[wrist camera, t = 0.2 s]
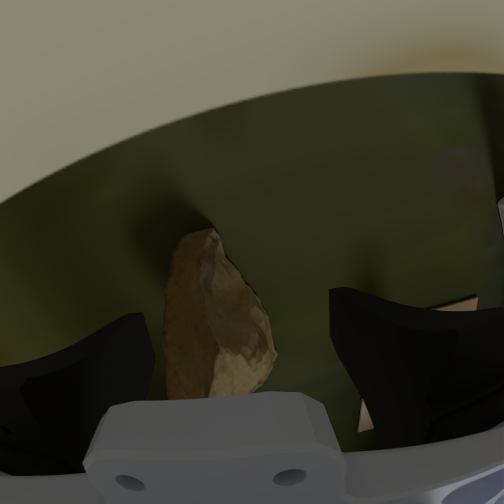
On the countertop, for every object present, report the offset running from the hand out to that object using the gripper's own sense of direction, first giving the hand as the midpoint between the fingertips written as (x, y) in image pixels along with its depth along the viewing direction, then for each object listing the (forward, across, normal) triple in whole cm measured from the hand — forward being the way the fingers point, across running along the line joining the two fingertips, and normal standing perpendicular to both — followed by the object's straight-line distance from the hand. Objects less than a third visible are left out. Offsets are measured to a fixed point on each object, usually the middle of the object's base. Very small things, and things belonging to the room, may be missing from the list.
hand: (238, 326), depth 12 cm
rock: (+10, +1, +3) cm, 11 cm away
